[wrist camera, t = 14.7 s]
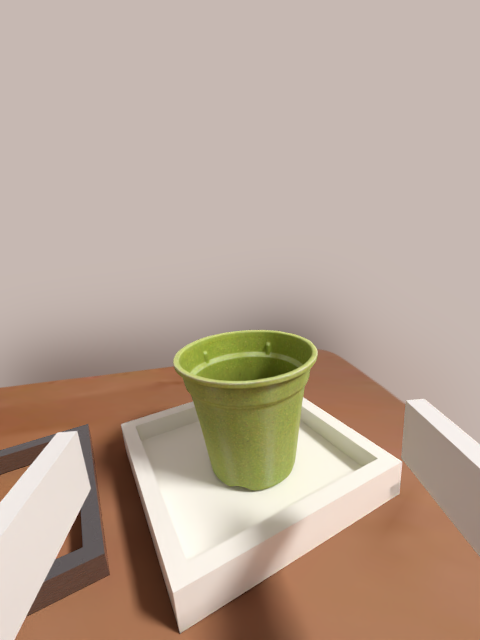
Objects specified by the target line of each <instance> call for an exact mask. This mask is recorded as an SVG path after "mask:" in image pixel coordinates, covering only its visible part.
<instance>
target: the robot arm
mask: <svg viewBox="0 0 480 640" xmlns="http://www.w3.org/2000/svg"><path fill="white" fill-rule="evenodd" d="M401 458H402V460H403V461H404V462H405V463H406V465H407V466H408V467H409V468H410V470H411V471H412V472H413V473H414V475H415V476H416V477H417V478H418V480H419V481H420V482H421V483H422V485H423V486H424V487H425V489H426V490H427V491H428V492H429V494H430V495H431V496H432V497H433V499H434V500H435V501H436V502H437V504H438V505H439V506H440V507H441V509H442V510H443V511H444V512H445V514H446V515H447V516H448V517H449V519H450V520H451V521H452V523H453V524H454V525H455V526H456V528H457V529H458V530H459V531H460V533H461V534H462V535H463V536H464V538H465V539H466V540H467V541H468V543H469V544H470V545H471V546H472V548H473V549H474V550H475V552H476V553H477V554H478V555H479V557H480V445H479V444H478V443H477V442H476V441H475V440H474V439H472V438H471V437H470V436H469V435H467V434H466V433H465V432H464V431H463V430H461V429H460V428H459V427H458V426H457V425H455V424H454V423H453V422H452V421H450V420H449V419H448V418H447V417H446V416H445V415H443V414H442V413H441V412H440V411H438V410H437V409H436V408H435V407H434V406H432V405H431V404H430V403H429V402H428V401H426V400H425V399H417V400H407V401H406V405H405V418H404V430H403V443H402V456H401ZM90 489H91V487H90V483H89V479H88V474H87V470H86V466H85V462H84V457H83V453H82V449H81V445H80V441H79V436H78V432H77V431H70V432H60V433H57V434H56V435H55V436H54V437H53V439H52V440H51V441H50V442H49V443H48V445H47V446H46V447H45V448H44V450H43V451H42V452H41V453H40V454H39V456H38V457H37V458H36V459H35V461H34V462H33V463H32V464H31V466H30V467H29V468H28V469H27V470H26V472H25V473H24V474H23V475H22V477H21V478H20V479H19V480H18V481H17V483H16V484H15V485H14V486H13V488H12V489H11V490H10V491H9V493H8V494H7V495H6V496H5V497H4V499H3V500H2V501H1V502H0V640H14V639H15V637H16V635H17V633H18V631H19V629H20V628H21V626H22V624H23V622H24V620H25V618H26V616H27V614H28V612H29V610H30V608H31V606H32V604H33V602H34V600H35V598H36V596H37V594H38V592H39V590H40V588H41V586H42V584H43V582H44V580H45V578H46V576H47V574H48V572H49V570H50V568H51V566H52V564H53V562H54V560H55V558H56V557H57V555H58V553H59V551H60V549H61V547H62V545H63V543H64V541H65V539H66V537H67V535H68V533H69V531H70V529H71V527H72V525H73V523H74V521H75V519H76V517H77V515H78V513H79V511H80V509H81V507H82V505H83V503H84V501H85V499H86V497H87V495H88V493H89V491H90Z"/></svg>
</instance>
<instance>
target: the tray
mask: <svg viewBox="0 0 480 640" xmlns="http://www.w3.org/2000/svg"><path fill="white" fill-rule="evenodd" d="M121 427H122V432H123V438H124V443H125V448H126V452H127V455H128V459H129V462H130V465H131V469H132V472H133V476H134V479H135V482H136V486H137V489H138V493H139V496H140V499H141V503H142V506H143V510H144V513H145V516H146V520H147V523H148V527H149V530H150V533H151V537H152V540H153V544H154V547H155V550H156V554H157V557H158V561H159V564H160V567H161V571H162V574H163V578H164V581H165V584H166V588H167V591H168V595H169V598H170V601H171V605H172V608H173V612H174V615H175V618H176V622H177V625H178V629H179V632H180V633H182V632H183V631H185V630H186V629H188V628H189V627H191V626H193V625H194V624H196V623H197V622H199V621H200V620H202V619H204V618H205V617H207V616H208V615H210V614H211V613H213V612H215V611H216V610H218V609H219V608H221V607H222V606H224V605H226V604H227V603H229V602H230V601H232V600H233V599H235V598H237V597H238V596H240V595H241V594H243V593H244V592H246V591H248V590H249V589H251V588H252V587H254V586H255V585H257V584H259V583H260V582H262V581H263V580H265V579H266V578H268V577H270V576H271V575H273V574H274V573H276V572H277V571H279V570H281V569H282V568H284V567H285V566H287V565H288V564H290V563H291V562H293V561H295V560H296V559H298V558H299V557H301V556H302V555H304V554H306V553H307V552H309V551H310V550H312V549H313V548H315V547H317V546H318V545H320V544H321V543H323V542H324V541H326V540H328V539H329V538H331V537H332V536H334V535H335V534H337V533H339V532H340V531H342V530H343V529H345V528H346V527H348V526H350V525H351V524H353V523H354V522H356V521H357V520H359V519H361V518H362V517H364V516H365V515H367V514H368V513H370V512H372V511H373V510H375V509H376V508H378V507H379V506H381V505H383V504H384V503H386V502H387V501H389V500H390V499H392V498H394V497H395V496H397V495H398V494H400V481H401V469H402V461H400V460H399V459H397V458H396V457H394V456H392V455H391V454H389V453H388V452H386V451H385V450H383V449H382V448H380V447H379V446H377V445H376V444H374V443H372V442H371V441H369V440H368V439H366V438H365V437H363V436H362V435H360V434H359V433H357V432H356V431H354V430H353V429H351V428H349V427H348V426H346V425H345V424H343V423H342V422H340V421H339V420H337V419H336V418H334V417H333V416H331V415H329V414H328V413H326V412H325V411H323V410H322V409H320V408H319V407H317V406H316V405H314V404H313V403H311V402H309V401H308V400H306V399H305V398H303V401H302V409H301V417H300V425H299V433H298V442H297V450H296V458H295V463H294V466H293V469H292V471H291V473H290V474H289V476H288V477H287V478H286V479H284V480H283V481H282V482H280V483H278V484H277V485H275V486H272V487H269V488H266V489H262V490H250V489H248V488H245V487H242V486H228V485H226V484H225V483H223V482H222V481H221V480H220V479H218V477H217V476H216V475H215V473H214V472H213V469H212V466H211V462H210V458H209V455H208V451H207V448H206V444H205V440H204V436H203V433H202V429H201V426H200V423H199V419H198V416H197V412H196V409H195V406H194V402H190V403H187V404H183V405H180V406H177V407H174V408H171V409H168V410H164V411H161V412H158V413H155V414H152V415H148V416H145V417H142V418H139V419H136V420H133V421H129V422H126V423H123V424H121Z"/></svg>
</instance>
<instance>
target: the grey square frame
mask: <svg viewBox="0 0 480 640" xmlns="http://www.w3.org/2000/svg"><path fill="white" fill-rule="evenodd" d="M70 431H77V432H78V436H79V441H80V445H81V449H82V453H83V457H84V462H85V466H86V470H87V474H88V479H89V483H90V487H91V489H90V491H89V493H88V495H87V497H86V499H85V501H84V503H83V505H82V507H81V524H82V541H83V547H82V548H80V549H78V550H76V551H73V552H71V553H69V554H67V555H65V556H62V557H60V558H58V559H56V560H54V562H53V564H52V566H51V568H50V570H49V572H48V574H47V576H46V578H45V580H44V582H43V584H42V586H41V588H40V590H39V592H38V594H37V596H36V598H35V600H34V602H33V604H32V606H31V608H30V610H29V612H28V614H27V616H28V615H30V614H32V613H34V612H36V611H38V610H40V609H42V608H44V607H46V606H48V605H50V604H52V603H54V602H56V601H58V600H60V599H62V598H64V597H66V596H68V595H70V594H72V593H74V592H76V591H78V590H80V589H82V588H84V587H86V586H88V585H90V584H92V583H94V582H96V581H98V580H100V579H102V578H104V577H106V576H108V575H110V573H109V566H108V558H107V551H106V544H105V536H104V529H103V521H102V514H101V507H100V499H99V492H98V484H97V477H96V470H95V462H94V455H93V447H92V440H91V435H90V430H89V426H88V424H86V425H83V426H80V427H76V428H73V429H70V430H66V431H63V432H70ZM56 434H57V433H56ZM56 434H53V435H50V436H46V437H43V438H40V439H37V440H33V441H30V442H27V443H23V444H20V445H17V446H13V447H10V448H7V449H3V450H0V474H3V473H6V472H9V471H12V470H15V469H18V468H21V467H24V466H27V465H30V464H32V463H33V462H34V461H35V459H36V458H37V457H38V456H39V454H40V453H41V452H42V451H43V450H44V448H45V447H46V446H47V445H48V443H49V442H50V441H51V440H52V439H53V437H54V436H55V435H56Z"/></svg>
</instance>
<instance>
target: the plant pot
mask: <svg viewBox="0 0 480 640" xmlns="http://www.w3.org/2000/svg"><path fill="white" fill-rule="evenodd" d="M316 359H317V349H316V347H315V346H314V344H313V343H312V342H310V341H309V340H307V339H305V338H303V337H300V336H298V335H295V334H291V333H286V332H280V331H269V330H247V331H246V330H245V331H235V332H227V333H222V334H217V335H213V336H208V337H205V338H202V339H199V340H197V341H194V342H193V343H190V344H188V345H186V346H185V347H184V348H182V349H180V350H179V352H177V354H176V355H175V357H174V360H173V364H174V368H175V370H176V372H177V373H178V374H179V375H180V376H181V377H183V380H184V383H185V386H186V389H187V390H188V392H189V393H190V394H191V396H192V399H193V402H194V406H195V409H196V412H197V416H198V419H199V423H200V426H201V429H202V433H203V436H204V440H205V444H206V448H207V451H208V455H209V458H210V462H211V466H212V469H213V472H214V473H215V475H216V476H217V477H218V479H220V480H221V481H222V482H223V483H225V484H226V485H228V486H242V487H245V488H248V489H250V490H262V489H266V488H269V487H272V486H275V485H277V484H278V483H280V482H282V481H283V480H284V479H286V478H287V477H288V476H289V474H290V473H291V471H292V469H293V466H294V463H295V458H296V450H297V442H298V433H299V425H300V417H301V409H302V401H303V394H304V387H305V385H306V383H307V381H308V379H309V374H310V368H311V367H312V366H313V365H314V363H315V362H316Z"/></svg>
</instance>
